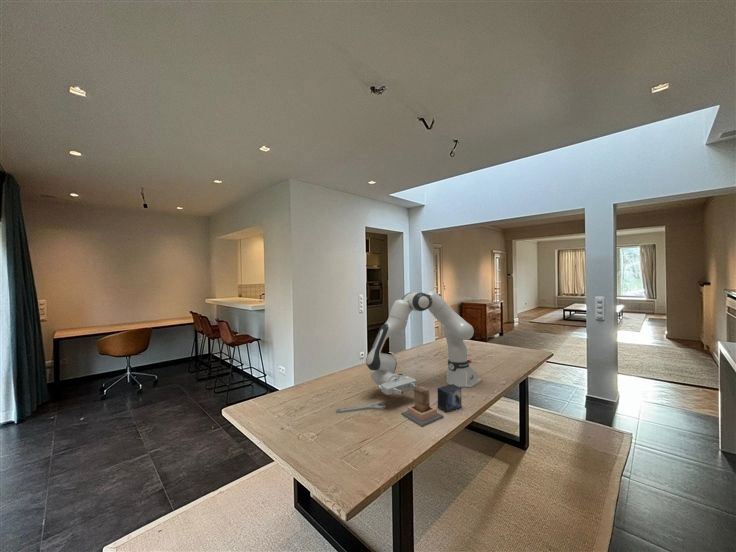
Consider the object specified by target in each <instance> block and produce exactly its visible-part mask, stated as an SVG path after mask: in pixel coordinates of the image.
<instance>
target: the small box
mask: <svg viewBox="0 0 736 552" xmlns="http://www.w3.org/2000/svg"><path fill="white" fill-rule="evenodd" d="M462 407H463V406H462V387H458V386H456V385H454V384H451V385H449V384H448V385H444V386H443V385H442V386H438V387H437V409H439V410H440V411H442V412H444V413H449V412H453V410H454V411H456V409H457V410H460V408H461V409H462Z"/></svg>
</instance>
